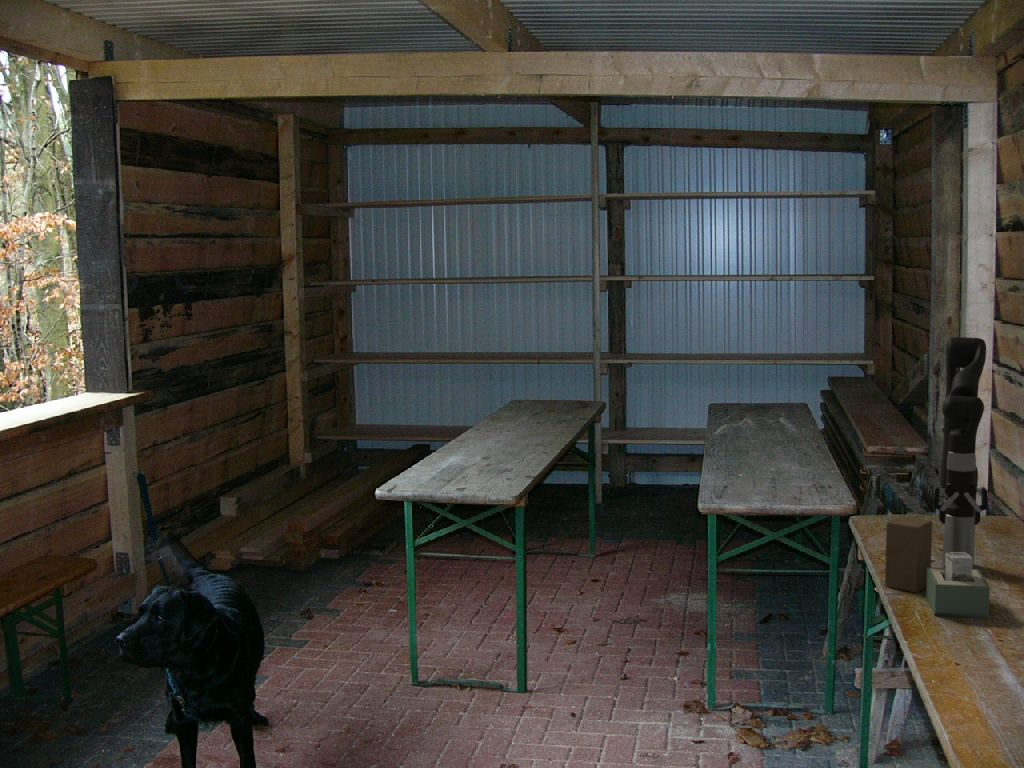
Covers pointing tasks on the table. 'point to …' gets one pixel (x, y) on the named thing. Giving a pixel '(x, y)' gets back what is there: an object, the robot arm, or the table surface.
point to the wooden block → (908, 553)
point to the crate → (957, 595)
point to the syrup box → (958, 567)
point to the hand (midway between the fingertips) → (959, 523)
